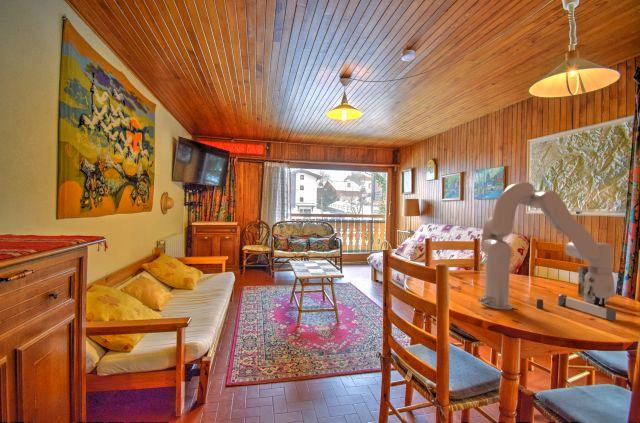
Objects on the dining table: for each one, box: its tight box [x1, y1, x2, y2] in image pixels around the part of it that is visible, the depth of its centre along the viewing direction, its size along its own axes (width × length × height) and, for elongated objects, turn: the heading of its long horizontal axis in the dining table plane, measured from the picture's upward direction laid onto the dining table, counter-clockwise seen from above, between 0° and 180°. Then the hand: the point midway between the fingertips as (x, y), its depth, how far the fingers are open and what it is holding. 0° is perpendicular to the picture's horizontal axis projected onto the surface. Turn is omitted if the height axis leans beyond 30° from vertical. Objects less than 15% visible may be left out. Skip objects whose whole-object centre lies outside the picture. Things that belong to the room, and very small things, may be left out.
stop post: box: [536, 298, 544, 310], centre depth 132 cm, size 2×2×4 cm
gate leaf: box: [566, 297, 617, 322], centre depth 126 cm, size 2×18×4 cm, turn 13°
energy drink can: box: [583, 273, 594, 305], centre depth 140 cm, size 6×6×15 cm
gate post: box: [557, 293, 567, 307], centre depth 136 cm, size 3×3×5 cm
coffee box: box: [577, 266, 588, 299], centre depth 148 cm, size 9×6×16 cm
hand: (599, 312), depth 124 cm, fingers closed
